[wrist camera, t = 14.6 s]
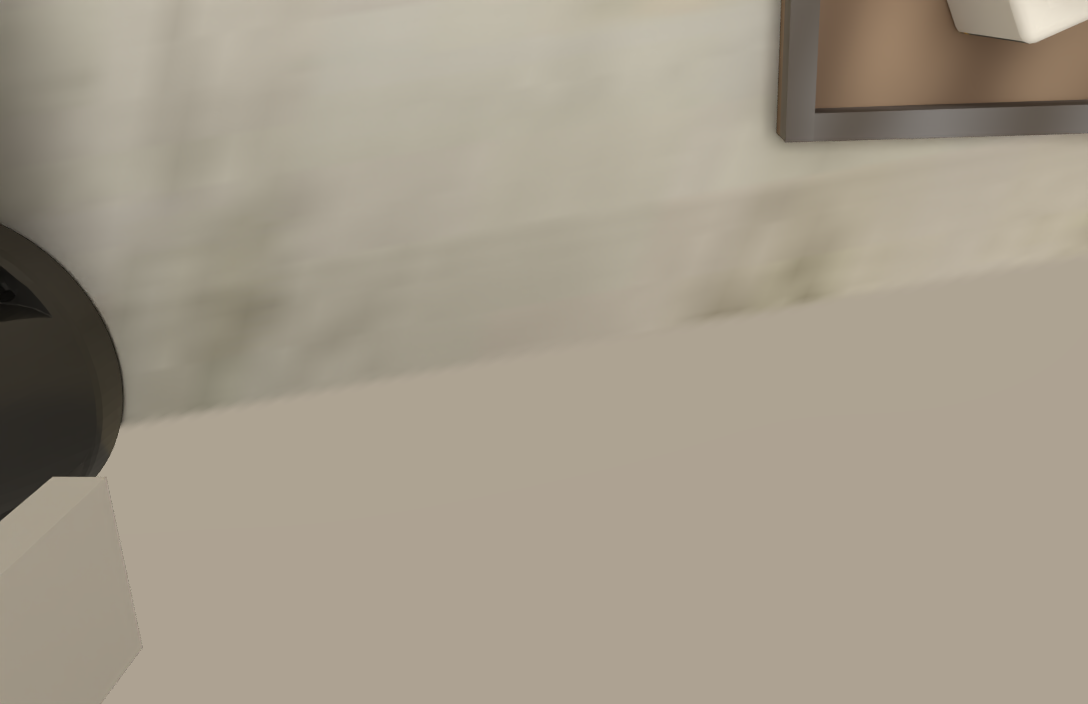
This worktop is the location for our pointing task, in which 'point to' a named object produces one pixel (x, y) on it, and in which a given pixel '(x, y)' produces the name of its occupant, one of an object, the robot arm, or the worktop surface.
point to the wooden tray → (920, 75)
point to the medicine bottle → (1017, 18)
